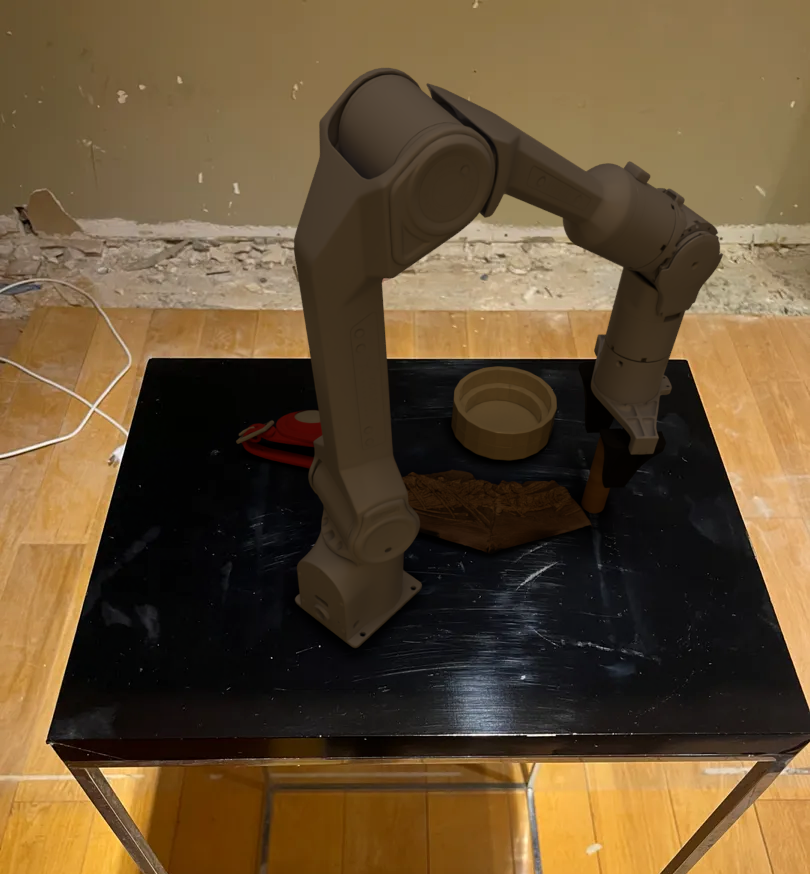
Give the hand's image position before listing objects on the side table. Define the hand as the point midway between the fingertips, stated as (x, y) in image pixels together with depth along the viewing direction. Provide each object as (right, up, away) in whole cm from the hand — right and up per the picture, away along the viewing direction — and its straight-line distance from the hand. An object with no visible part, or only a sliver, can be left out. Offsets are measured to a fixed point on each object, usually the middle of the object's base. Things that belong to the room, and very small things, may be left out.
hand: (604, 457), depth 81 cm
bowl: (-9, +4, +13) cm, 16 cm away
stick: (0, -4, +5) cm, 7 cm away
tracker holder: (-31, +2, +10) cm, 33 cm away
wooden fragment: (-13, -6, +4) cm, 15 cm away
